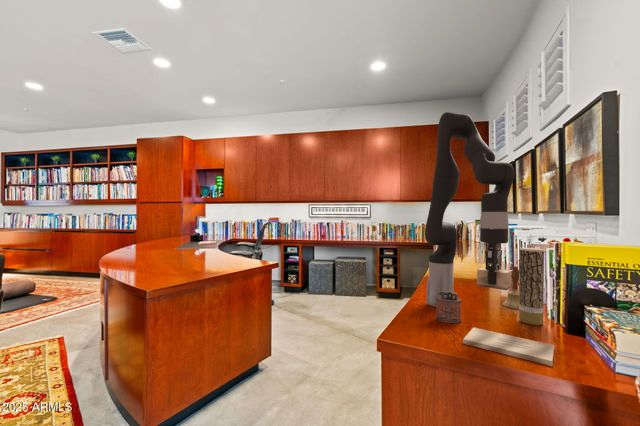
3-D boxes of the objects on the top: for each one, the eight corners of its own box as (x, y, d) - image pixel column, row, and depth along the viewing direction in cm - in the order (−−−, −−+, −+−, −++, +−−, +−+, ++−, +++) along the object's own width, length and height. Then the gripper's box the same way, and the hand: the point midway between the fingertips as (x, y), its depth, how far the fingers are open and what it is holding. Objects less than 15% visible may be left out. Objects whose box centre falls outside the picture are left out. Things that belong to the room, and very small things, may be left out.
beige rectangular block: (477, 285, 95) (477, 269, 95) (481, 283, 99) (481, 267, 99) (507, 290, 90) (507, 273, 90) (510, 287, 93) (510, 270, 93)
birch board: (463, 343, 87) (463, 339, 87) (473, 331, 96) (473, 327, 96) (552, 366, 74) (552, 361, 74) (554, 349, 83) (554, 345, 83)
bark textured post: (547, 326, 101) (548, 250, 101) (524, 325, 102) (525, 249, 102) (537, 320, 108) (538, 248, 108) (515, 318, 109) (516, 247, 109)
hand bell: (526, 305, 125) (527, 266, 125) (527, 310, 118) (527, 269, 118) (502, 302, 130) (503, 264, 130) (502, 307, 123) (502, 266, 123)
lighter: (460, 320, 106) (461, 291, 106) (461, 323, 103) (462, 293, 103) (435, 317, 108) (435, 289, 108) (435, 320, 105) (436, 291, 105)
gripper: (484, 226, 102) (484, 277, 102) (475, 227, 91) (474, 285, 91) (511, 227, 98) (511, 280, 97) (504, 227, 86) (504, 288, 86)
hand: (493, 282), depth 94 cm, fingers closed on beige rectangular block, 5 cm apart
